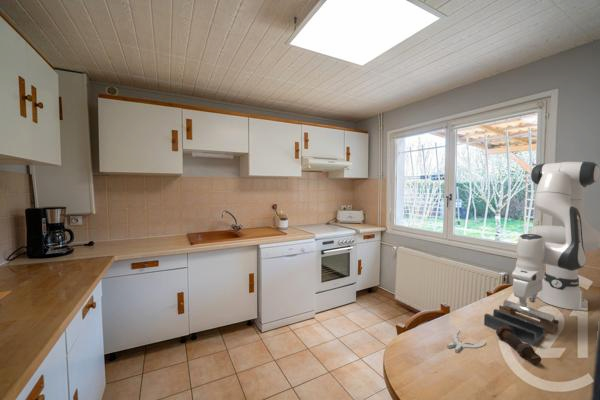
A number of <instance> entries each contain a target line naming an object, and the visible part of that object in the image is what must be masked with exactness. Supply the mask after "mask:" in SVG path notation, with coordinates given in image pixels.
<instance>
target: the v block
mask: <svg viewBox="0 0 600 400" xmlns="http://www.w3.org/2000/svg"><path fill="white" fill-rule="evenodd" d="M483 315H484V321H483V322H484V323H483V325H484V326H485V327H488V328H491V329H492V330H495V331H496V330H497V329H498V328H499V327H500V326H507V327H509V328H511V330H512V332H513V334H514V336H515V337H516V338H518V339H519V340H520V341H521V342H523V343H526V344H529V345H530V346H532V347H535V346H536V345H537V344H538V343H540V342H541V341H542V340H543V339H545V331H544V330H545V327H544V326H542V325H539V324H536V323H533V322H531V321H528V320H525V319H522V318H519V317H517V316H514V315H511V314H508V313H506V312H503V311H500V310H499V309H497V308H494V309H493V314H489V313H485V314H483Z"/></svg>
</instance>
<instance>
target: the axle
mask: <svg viewBox="0 0 600 400" xmlns="http://www.w3.org/2000/svg"><path fill="white" fill-rule="evenodd" d="M502 306H503V307H506V308H509V309H511V310H513V311H516V313H518V314H519V313H520V314H521V315H523V316H526V317H529V318H532V319H535V320H538V321H540V320H544V321H547V322H550V323H554V320H556V318H555V315H553V314H551V313H547V312H545V311H544V312H543V311H541V310H538V309H535V308H532V307H529V306H527V307H521V306H520V303H516V302H514V301H510V300H507V299H504V301H503V303H502Z"/></svg>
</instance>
